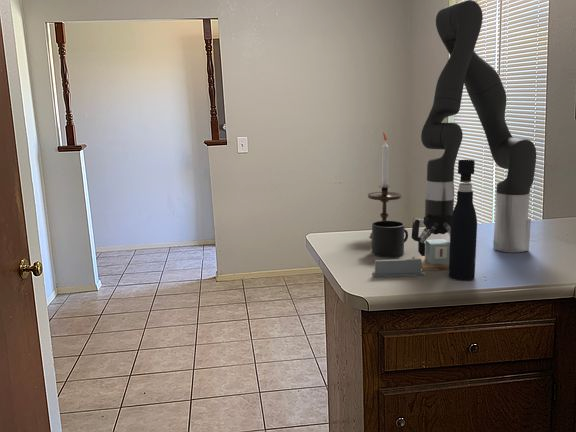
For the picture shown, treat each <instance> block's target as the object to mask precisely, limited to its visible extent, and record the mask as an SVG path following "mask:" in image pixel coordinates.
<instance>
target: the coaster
mask: <svg viewBox="0 0 576 432" xmlns="http://www.w3.org/2000/svg"><path fill="white" fill-rule="evenodd" d="M412 259H421V260H422V263H421V271H441V270H442V271H444V270H445V271H446V270H447V271H449V264H430V263H429V262H428V261H427V260H426V259H425V256H421V255H420V256H419V255H416V256H415V255H414V256H412Z"/></svg>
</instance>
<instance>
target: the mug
mask: <svg viewBox="0 0 576 432" xmlns="http://www.w3.org/2000/svg"><path fill="white" fill-rule="evenodd" d="M371 233H372V238H371V253H372V255H374V256H377V257H381V258H396V257H397V258H398V257H401V256H403V255H404V253H405V243H406V242H407V241H408V239H409V231H408V230H407V229H405V223H403V222H402V221H401V222H400V221H395V220H387V221H382V220H379V221H375V222H372V224H371Z"/></svg>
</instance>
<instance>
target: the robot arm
mask: <svg viewBox="0 0 576 432" xmlns="http://www.w3.org/2000/svg"><path fill="white" fill-rule="evenodd" d="M483 17H484V16H483V11H482V8H481V6H480V5H479V3H478V2H477V1H476V0H462V1H459V2H456V3H454V4H452V5H451V4H450V5H448V6H446V7H443V8H441V9H439V11H437V14H436V16H435V27H436V31H437V34H438V36H439V38H440V40H441V42H442V43H443V45H444V47H445V48H446V51H447V52H448V54H449V55H450V56H449V58H448V60H447V62H446V63H445V65H444V67H443V68H442V70H441V72H440V74H439V76H438V79H437V81H436V86H435V91H434V97H433V103H432V107H431V108H430V112H429V114H428V116H427V118H426V121H425V122H424V124H423V126H422V130H421V134H420V140H421V143H422V145H423V146H424V148H425V149H427V150H428V149H429V150H444V152H443V154H442V155H441V157H439V156H438V157H433V158H430V159H429V160H428V161H427V166H426V185H425V194H424V195H425V198H424V199H425V200H424V217H423V218H417V217H413V219H412V229H411V239H412V240H413V241H415V242H417V243H418V246H417V249H418V251H417V252H418V253H419V255H420V256H425V241H426V240H428V238H430V237H431V235H432V234H433V235H439V234H441V235H445V234H447V235H448V236H449V237H450V226H451V218H452V214H453V211H454V208H455V206H454V205H455V203H454V202H455V184H454V183H455V181H454V180H455V165H456V161H457V157H458V153H459V151H460V147H461V144H462V142H463V141H462V140H463V136H464V135H463V130H462V127H461V126H460V125H459V124H458V123H457V122H443V121H444V120H445V119H446V118H448V117H451V116H452V117H453V116H455V115H458V113H459V112H460V109H461V103H462V97H463V92H464V87H465V89H466V91H467V94H468V97H469V99H470V101H471V103H472V105H473V108H474V109H475V111H476V115H477V117H478V120H479V121H480V124H481V126H482V130H483V131H484V134H485V138H486V141H487V144H488V147H489V148H488V149H489V150H490V153H491V157H492V160H493V161H494V163H495V164H496V166H498V167H500V168H501V169H504V170H507V176H506V178H505V179H504V180H502V181H499V182H497V184H496V192H495V193H496V194H495V209H494V210H495V213H494V231H493V244H492V245H493V250H496V251H498V252H502V253H504V252H505V253H512V254H513V253H523V252H527V251H528V252H529V251H530V240H531V239H530V236H531V226H532V225H531V224H532V220H531V219H530V218H529V209H530V195H531V194H530V193H531V188H532V186H533V184H534V179H535V173H536V163H537V149H536V147H535V144H534V142H533V141H531V140H530V139H527V138H521V137H520V138H519V137H518V138H516V137H513V136H512V133H511V131H510V130H509V127H508V125H507V122H506V110H507V109H506V108H507V93H506V89H505V87H504V84H503V82H502V80H501V77H500V75H499V73H498V72H497V71H496V69H494V68H493V66H492V65H490V64H489V62H487V61H486V60H485V59H484V58H482V57H481V56H480V55H478V53H476V51H474V50H475V48H476V44H477V41H478V39H479V36H480V32H481V29H482V25H483V19H484V18H483ZM422 225H424V226H425V227H424V229H423V230H422V231H421V233H419V232H420V227H422ZM419 234H420V235H419Z"/></svg>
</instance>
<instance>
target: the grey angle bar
mask: <svg viewBox="0 0 576 432" xmlns="http://www.w3.org/2000/svg"><path fill="white" fill-rule="evenodd" d="M421 263H422V260H421V259H413V258H406V259H405V258H401V259H398V258H397V259H375V260H374V271H372V275H374V276H373V277H374V278H390V277H391V278H393V277H394V276H395V277H420V276H421V277H423V276H425V273H424V272H423V270H422V269H421ZM392 276H393V277H392Z"/></svg>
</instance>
